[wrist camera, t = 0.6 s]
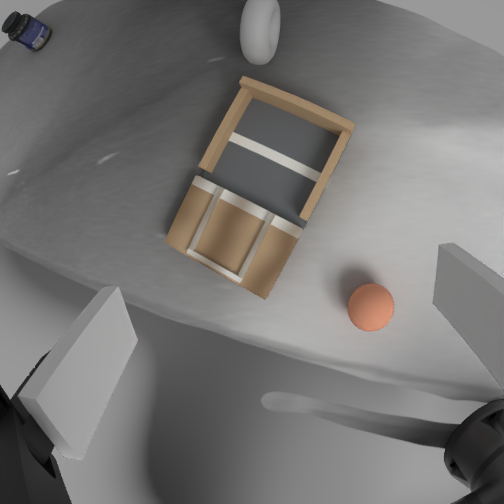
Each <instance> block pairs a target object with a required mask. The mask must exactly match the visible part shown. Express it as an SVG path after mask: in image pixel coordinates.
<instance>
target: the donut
mask: <svg viewBox="0 0 504 504" xmlns="http://www.w3.org/2000/svg"><path fill="white" fill-rule="evenodd" d="M279 33H280V7H279V4H278V2H277V0H248V1H247V3H246V5H245V7H244V9H243V13H242V17H241V24H240V44H241V49H242V52H243V55H244V56H245V58H246V59H247V61H248V62H250V63H252V64H256V65H264V64H267V63H268V62H269V61H270V60H271V59H272V58H273V56H274V54H275V52H276V49H277V45H278V40H279Z"/></svg>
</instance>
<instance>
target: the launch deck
mask: <svg viewBox="0 0 504 504" xmlns="http://www.w3.org/2000/svg"><path fill="white" fill-rule="evenodd" d="M302 231H303V229H302V228H300V227H298V226H296V225H294V224H293V223H291V222H289V221H287V220H285V219H283V218H281V217H279V216H277V215H275V214H273V213H271V212H270V211H268V210H266V209H264V208H262V207H260V206H258V205H256V204H254V203H252V202H250V201H248V200H246V199H244V198H242V197H240V196H238V195H236V194H234V193H232V192H230V191H228V190H226V189H224V188H222V187H220V186H218V185H216V184H214V183H212V182H210V181H208V180H206V179H204V178H202V177H200V176H198V175H196V176H195V178H194V180H193V182H192V184H191V186H190V188H189V190H188V192H187V194H186V196H185V198H184V200H183V202H182V204H181V207H180V209H179V211H178V213H177V215H176V217H175V219H174V221H173V224H172V226H171V228H170V230H169V232H168V234H167V237H166V239H165V241H164V242H165V243H166V244H168V245H170V246H171V247H173V248H175V249H177V250H178V251H180V252H182V253H183V254H185V255H187V256H189V257H190V258H192V259H194V260H196V261H197V262H199V263H201V264H203V265H204V266H206V267H208V268H210V269H211V270H213V271H215V272H217V273H218V274H220V275H222V276H224V277H225V278H227V279H229V280H231V281H233V282H234V283H236V284H238V285H240V286H242V287H243V288H245V289H247V290H249V291H251V292H252V293H254V294H256V295H258V296H260V297H261V298H263V299H266V298H267V297H268V295H269V293H270V291H271V289H272V288H273V286H274V284H275V282H276V280H277V278H278V276H279V275H280V273H281V271H282V269H283V267H284V265H285V263H286V262H287V260H288V258H289V256H290V254H291V252H292V250H293V248H294V247H295V245H296V243H297V241H298V239H299V237H300V235H301V233H302Z"/></svg>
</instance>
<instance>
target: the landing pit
mask: <svg viewBox="0 0 504 504" xmlns="http://www.w3.org/2000/svg"><path fill="white" fill-rule="evenodd" d="M239 83H240V85H241V89H240V91H239V92H238V94H237V96H236V98H235V99H234V101H233V103H232V105H231V106H230V108H229V110H228V112H227V113H226V115H225V117H224V119H223V121H222V122H221V124H220V126H219V128H218V130H217V132H216V133H215V135H214V137H213V139H212V141H211V143H210V145H209V147H208V148H207V150H206V152H205V154H204V156H203V158H202V160H201V162H200V164H199V166H198V167H200V168H202V169H204V172H203V174H202V176H201V177H202V178H204V179H206V180H208V181H210V182H212V183H214V184H216V185H218V186H220V187H222V188H224V189H226V190H228V191H230V192H232V193H234V194H236V195H238V196H240V197H242V198H244V199H246V200H248V201H250V202H252V203H254V204H256V205H258V206H260V207H262V208H264V209H266V210H268V211H270V212H271V213H273V214H275V215H277V216H279V217H281V218H283V219H285V220H287V221H289V222H291V223H293V224H294V225H296V226H298V227H300V228H302V229H304V227H305V226H306V224H307V222H308V220H309V218H310V216H311V214H312V212H313V210H314V208H315V206H316V204H317V202H318V200H319V198H320V196H321V195H322V193H323V191H324V189H325V187H326V185H327V183H328V181H329V179H330V177H331V175H332V173H333V171H334V169H335V167H336V165H337V163H338V161H339V159H340V157H341V155H342V153H343V151H344V149H345V147H346V145H347V143H348V141H349V138H350V136H351V134H352V132H353V129H354V127H355V123H353V122H351V121H349V120H347V119H345V118H343V117H341V116H339V115H337V114H335V113H333V112H331V111H329V110H326V109H324V108H322V107H320V106H318V105H315V104H313V103H311V102H309V101H306V100H304V99H302V98H299V97H297V96H295V95H292V94H290V93H287V92H285V91H282V90H280V89H277V88H275V87H272V86H270V85H267V84H264V83H262V82H259V81H256V80H254V79H251V78H248V77H245V76H242V78H241V80H240V81H239Z"/></svg>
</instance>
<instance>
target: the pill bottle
mask: <svg viewBox="0 0 504 504" xmlns="http://www.w3.org/2000/svg"><path fill="white" fill-rule="evenodd" d="M2 31H3V32H5V33H8V37H9V39H10V40H12V41H14V42H16V43H18V44H20V45H22V46H24V47H26V48H28V49H30V50H32V51H38V50H40V49H41V48H42V47H43V46H44V45H45V44H46V43H47V41H48V40H49V38H50V36H51V29H50V27H48V26H46V25H45V24H43V23H42V22H40V21H38V20H37V19H35V18H33V17H32V16H30V15H28V14H23V15H21V14H20V13H18V12H16V11H15V12H13V13H12V14H11V15H9V17H8V18H7V19H6V20H5V22H4V24H3V26H2Z"/></svg>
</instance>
